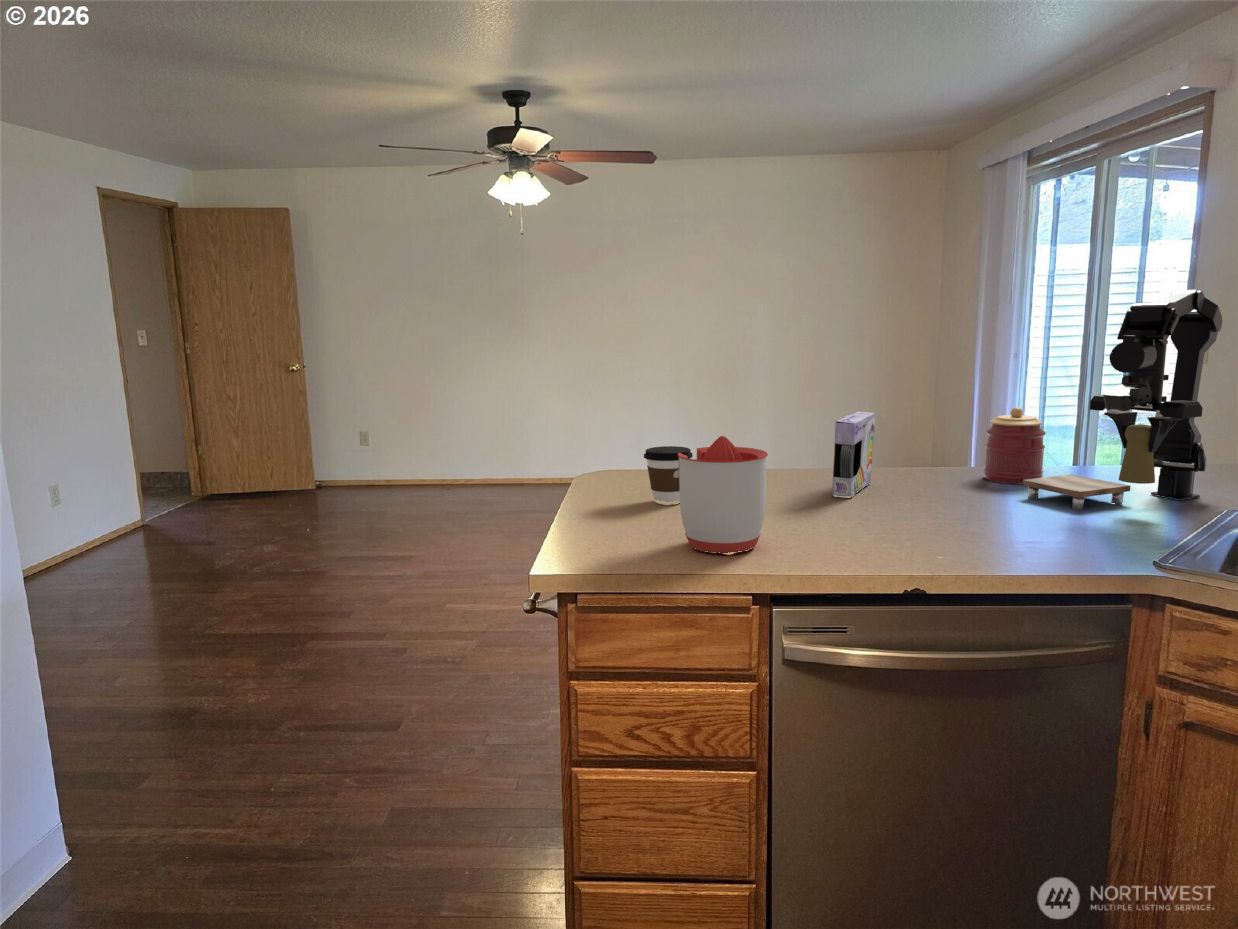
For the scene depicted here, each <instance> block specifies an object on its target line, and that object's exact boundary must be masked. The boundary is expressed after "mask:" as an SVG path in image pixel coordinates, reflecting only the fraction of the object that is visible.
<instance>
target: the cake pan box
mask: <svg viewBox="0 0 1238 929" xmlns="http://www.w3.org/2000/svg"><path fill="white" fill-rule="evenodd" d="M875 417H876V413H875V412H867V411H856V412H854V413H852V414H848V415H845V416H844V417H843V418H840V419H838V420H836V421H835V424H834V426H835V427H834V445H833V447H834V448H833V451H834V452H833V466H832V469H833V470H832V492H831V494H832V495H837V496H853V495H854V494H855V493H857V492H858V491H859V490H861V489H862V488H863V487H865V486H866V487H867V486H869V485H870V484H871V481H872V468H873V467H872V466H873V450H874V436H875V435H874V433H875V419H876V418H875ZM869 483H870V484H869ZM868 484H869V485H868ZM866 487H865V488H866ZM862 490H863V489H862ZM862 490H861V491H862ZM857 494H858V493H857Z"/></svg>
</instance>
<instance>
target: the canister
mask: <svg viewBox="0 0 1238 929" xmlns="http://www.w3.org/2000/svg"><path fill="white" fill-rule="evenodd" d="M1023 414H1024V413H1023V410H1022V408H1021V407H1017V406H1016V407H1015V406H1014V407H1013V408H1012V409H1011V411H1010V414H1007V415H1006V414H1005V415H1002V414H1001V415H998V416H996V417H994V418H992V419H991V420H989V423H990V424H991V426H990V427H989V428H987V429H985V433H986V434H987V440H986V442H985V444H984V446H985V449H984V450H985V454H984V467H983V477H984V479H985V480H987V481H990V482H996V483H1001V484H1008V485H1009V484H1011V485H1023V480H1027V479H1035V478H1044V477H1043V476H1044V474H1043V473H1044V470H1043V469H1044V468H1043V466H1044V457H1045V456H1044V454H1045V453H1044V452H1045V448H1046V445H1044V436H1045V435H1046V434H1047V432H1046V431H1045V430H1044V429H1042V427H1041V426H1042V425H1043V421H1041V420H1039V419H1038V418H1037V417H1036V416H1032V415H1023Z"/></svg>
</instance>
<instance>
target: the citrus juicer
mask: <svg viewBox="0 0 1238 929" xmlns="http://www.w3.org/2000/svg"><path fill="white" fill-rule="evenodd" d="M768 456H769V454H768V452H767V451H765V450H762V449H758V448H753V447H746V446H745V447H743V446H735V445H734V444H733V443H732V441H731V440H730V439H728V438H727V437H726V436H725V435H720V436H719V437H717V438H716V439H715V440H714V441H713V442H712V443H711V445H710V446H705V447H696V459H693V458H690V459H689V458H687V457H688V456H686V455H684V454H681V453H678V457H679V470H677V471H675V472H674V478H679V484H680V504H679V507H680V508H679V511H680V516H681V522H682V525H683V528H684V531H685V537H686V540H687V542H688V544H689V546H690V545H691V546H692V547H693V548H696V549H698V550H701V551H700V552H702V551H708V552H716V553H719V552H720V553H728V552H729V553H730V552H738V551H745V550H748V549H750V548H753V547H754V548H756V546H757V545H758V541H759V539H760V537H761V531H762V528H763V525H764V519H765V515H766V503H767V502H766V501H767V500H766V498H767V497H766V496H767V494H766V493H767V457H768ZM755 545H756V546H755ZM691 546H690V547H691ZM692 547H691V548H692ZM693 548H692V549H693ZM754 548H753V549H754ZM698 550H697V551H698Z"/></svg>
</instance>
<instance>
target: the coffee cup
mask: <svg viewBox="0 0 1238 929" xmlns="http://www.w3.org/2000/svg"><path fill="white" fill-rule="evenodd" d="M678 453H681V454H684V455H686V456H688V457H687V458H689V459H693V456H694V455H693V452H691V448H689V447H685V446H684V447H683V446H675V445H673V446H671V445H669V446H663V445H662V446H656V447H649V448H647V449H645V453H643V459H646V462H647V472H648V478H649V484H650V490H652V497H653V500H654V499H655V500H659V501H665V502H673V501H680V484H679V478H674V472H675V471H677V470H679V457H678Z"/></svg>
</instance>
